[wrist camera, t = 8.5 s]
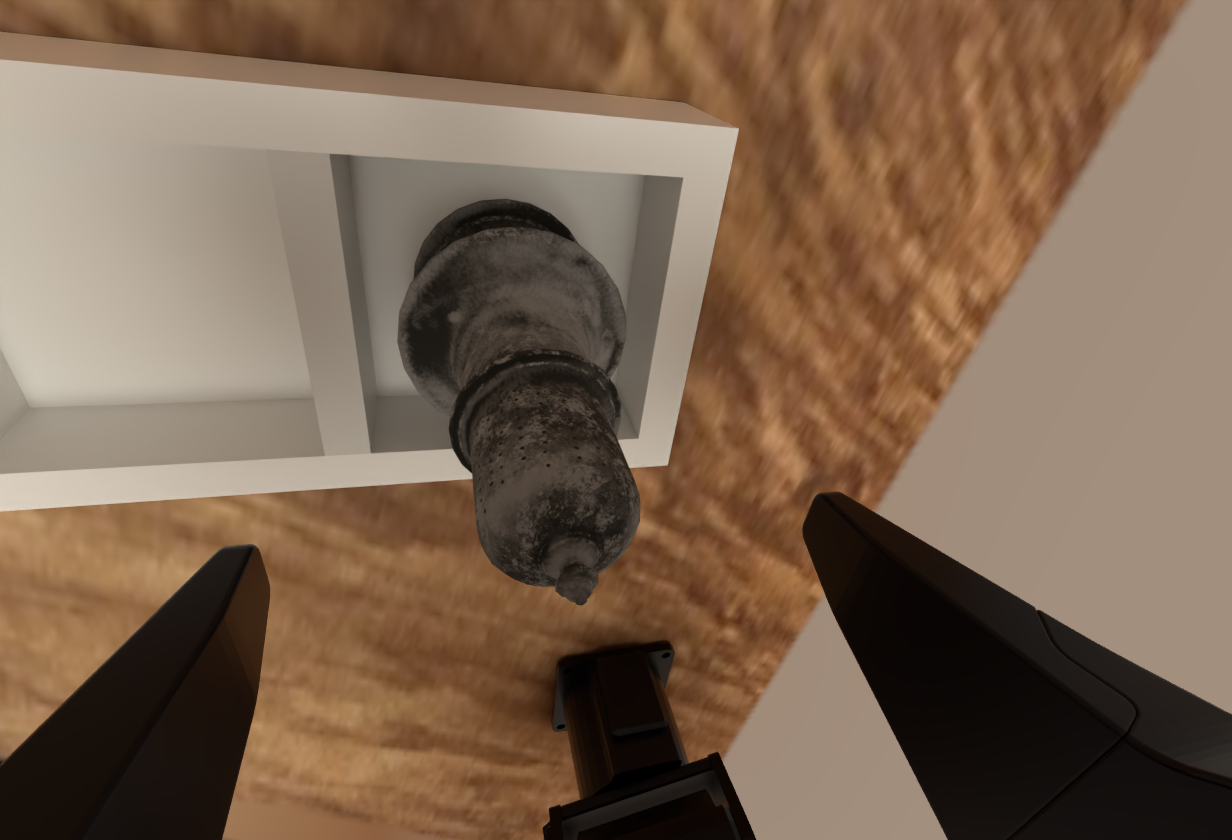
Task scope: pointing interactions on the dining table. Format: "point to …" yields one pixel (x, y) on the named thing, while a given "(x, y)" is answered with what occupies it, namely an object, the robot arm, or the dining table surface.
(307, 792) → the dining table surface
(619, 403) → the grey stone turned post
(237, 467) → the condiment caddy
